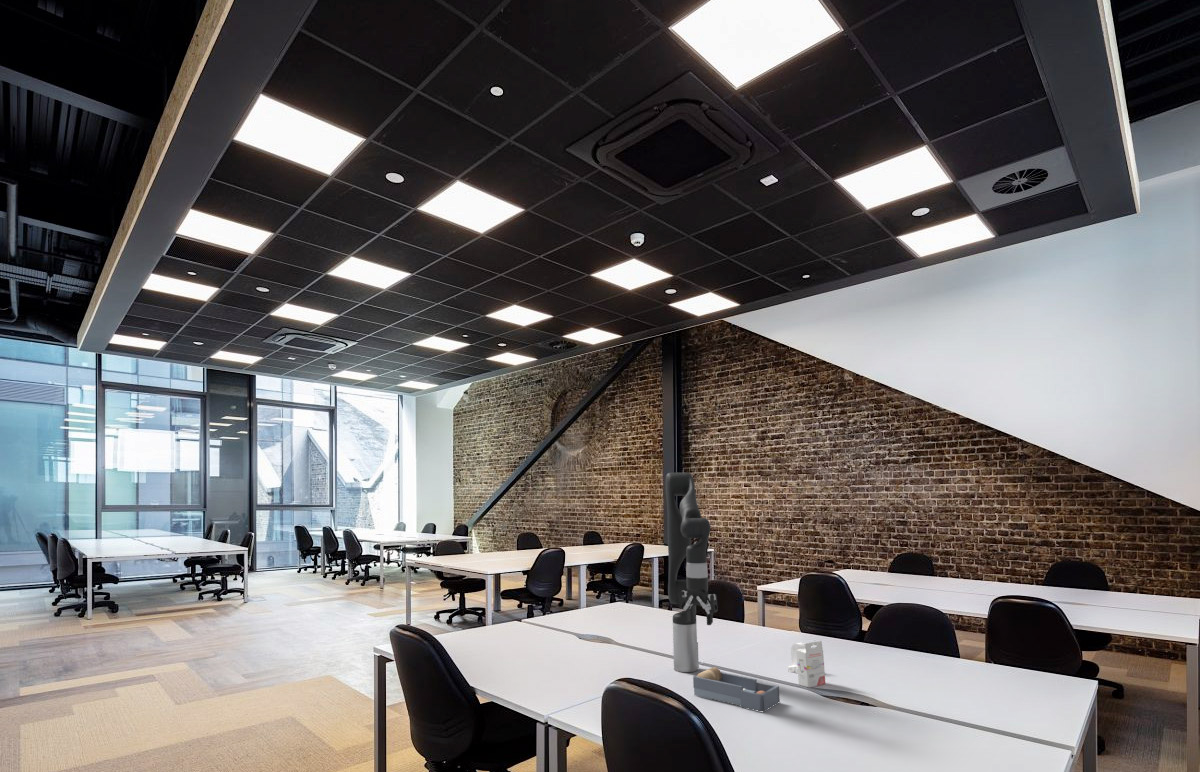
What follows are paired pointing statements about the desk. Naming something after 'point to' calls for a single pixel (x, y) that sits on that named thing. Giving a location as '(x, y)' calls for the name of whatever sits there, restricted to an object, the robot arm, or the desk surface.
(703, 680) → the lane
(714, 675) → the tan curved piece
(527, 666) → the desk surface
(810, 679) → the ink cartridge box
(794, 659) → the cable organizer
